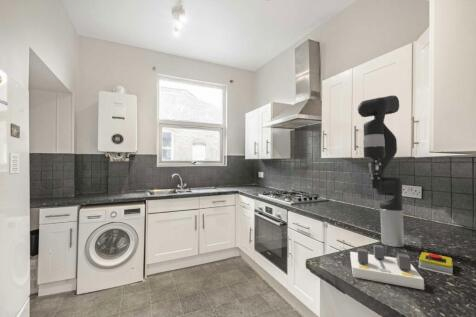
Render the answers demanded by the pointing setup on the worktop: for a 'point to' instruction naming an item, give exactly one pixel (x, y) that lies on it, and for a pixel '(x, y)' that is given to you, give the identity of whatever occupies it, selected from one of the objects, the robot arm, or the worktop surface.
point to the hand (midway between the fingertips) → (375, 188)
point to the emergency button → (436, 263)
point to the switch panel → (385, 271)
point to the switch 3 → (403, 261)
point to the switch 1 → (362, 255)
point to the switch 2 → (378, 251)
